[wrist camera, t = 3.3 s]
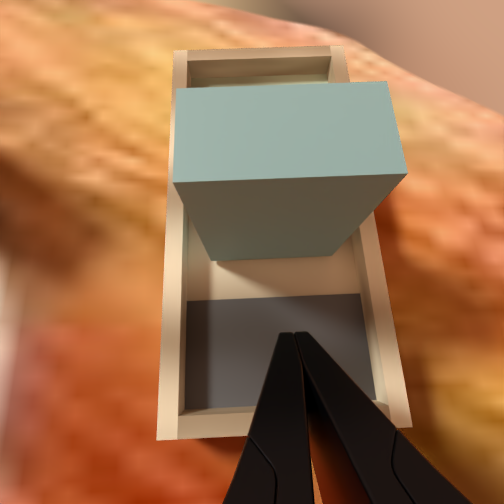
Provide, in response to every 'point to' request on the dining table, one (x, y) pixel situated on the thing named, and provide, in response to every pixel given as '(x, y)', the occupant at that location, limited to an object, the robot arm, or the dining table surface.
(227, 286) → the box
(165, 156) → the dining table surface
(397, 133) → the teal block
